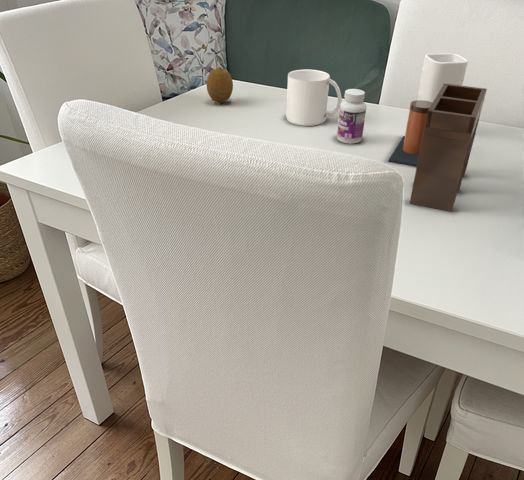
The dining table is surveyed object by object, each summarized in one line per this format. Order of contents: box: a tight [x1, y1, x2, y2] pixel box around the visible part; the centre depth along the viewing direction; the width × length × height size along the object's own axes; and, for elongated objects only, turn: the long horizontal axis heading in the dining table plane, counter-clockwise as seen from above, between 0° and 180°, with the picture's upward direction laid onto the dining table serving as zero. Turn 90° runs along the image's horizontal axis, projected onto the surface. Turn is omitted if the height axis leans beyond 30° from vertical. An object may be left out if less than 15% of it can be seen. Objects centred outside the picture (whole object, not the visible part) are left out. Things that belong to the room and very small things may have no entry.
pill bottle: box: [336, 88, 367, 145], centre depth 117 cm, size 5×5×10 cm
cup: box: [417, 52, 469, 103], centre depth 119 cm, size 7×7×15 cm
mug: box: [285, 68, 343, 127], centre depth 126 cm, size 12×9×9 cm
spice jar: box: [403, 99, 432, 155], centre depth 112 cm, size 5×5×9 cm
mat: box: [388, 135, 419, 167], centre depth 115 cm, size 8×14×1 cm, turn 157°
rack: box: [409, 83, 488, 212], centre depth 97 cm, size 7×16×16 cm, turn 157°
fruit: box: [206, 66, 234, 105], centre depth 134 cm, size 6×6×8 cm
